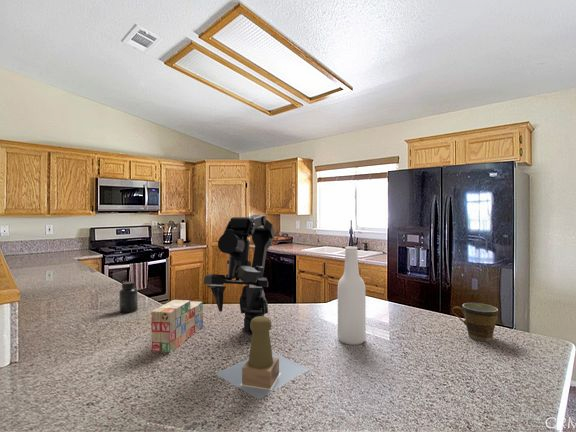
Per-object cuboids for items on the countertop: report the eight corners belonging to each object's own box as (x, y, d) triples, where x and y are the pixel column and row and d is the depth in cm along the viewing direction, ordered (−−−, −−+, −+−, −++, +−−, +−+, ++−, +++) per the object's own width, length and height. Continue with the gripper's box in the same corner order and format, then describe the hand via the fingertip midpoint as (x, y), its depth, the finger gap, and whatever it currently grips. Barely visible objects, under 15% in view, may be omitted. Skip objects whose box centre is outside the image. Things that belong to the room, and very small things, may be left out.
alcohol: (332, 337, 102) (332, 246, 101) (354, 332, 105) (354, 245, 105) (347, 347, 94) (347, 249, 93) (371, 342, 97) (371, 247, 97)
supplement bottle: (132, 307, 135) (132, 280, 135) (140, 310, 131) (140, 282, 131) (116, 311, 129) (116, 283, 129) (124, 314, 125) (124, 285, 125)
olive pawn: (244, 360, 76) (244, 316, 76) (266, 354, 79) (266, 312, 79) (254, 371, 71) (254, 323, 71) (277, 364, 74) (277, 319, 74)
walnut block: (253, 370, 80) (253, 354, 80) (279, 373, 78) (279, 357, 78) (242, 384, 73) (242, 367, 73) (270, 388, 71) (270, 371, 71)
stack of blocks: (187, 326, 113) (187, 292, 113) (203, 327, 111) (203, 293, 111) (151, 351, 92) (150, 310, 91) (170, 353, 90) (170, 311, 90)
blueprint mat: (266, 351, 91) (266, 349, 91) (309, 369, 80) (309, 368, 80) (214, 374, 78) (214, 373, 78) (258, 400, 67) (258, 399, 67)
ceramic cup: (495, 334, 103) (495, 304, 103) (501, 346, 94) (501, 313, 94) (451, 328, 109) (451, 300, 109) (453, 339, 100) (453, 308, 100)
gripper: (223, 252, 81) (217, 314, 78) (279, 259, 92) (277, 313, 89) (205, 255, 90) (200, 310, 86) (259, 260, 101) (256, 310, 97)
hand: (234, 311), depth 89 cm, fingers open, 9 cm apart
